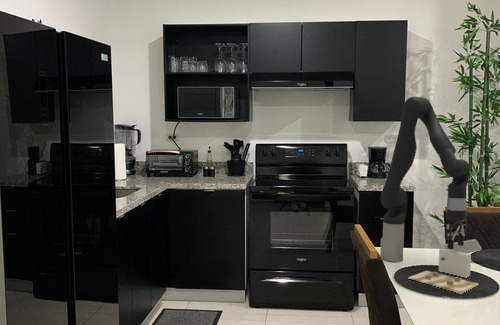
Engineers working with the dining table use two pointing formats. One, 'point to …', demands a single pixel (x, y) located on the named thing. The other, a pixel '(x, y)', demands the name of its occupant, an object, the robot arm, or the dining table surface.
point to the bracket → (466, 246)
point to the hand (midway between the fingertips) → (455, 247)
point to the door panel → (454, 262)
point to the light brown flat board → (444, 281)
